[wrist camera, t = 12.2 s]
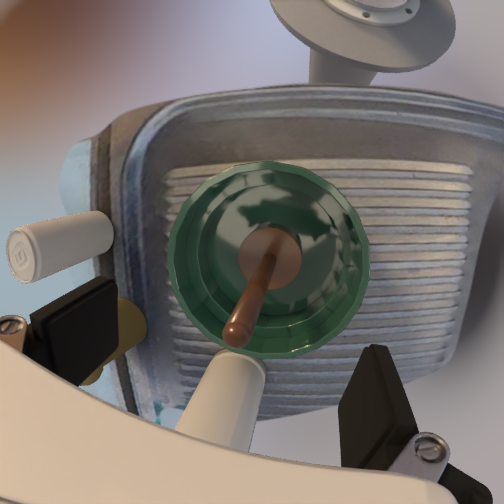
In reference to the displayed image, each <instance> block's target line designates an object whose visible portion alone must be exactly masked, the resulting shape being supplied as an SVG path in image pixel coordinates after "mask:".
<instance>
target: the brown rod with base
mask: <svg viewBox="0 0 504 504" xmlns="http://www.w3.org/2000/svg"><path fill="white" fill-rule="evenodd" d="M238 262H239V266H240V269H241V272H242V273H243V275H244V276H245V278H246V279H247V280H248V281H249V283H248V285H247V287H246V288H245V290H244V292H243V294H242V296H241V298H240V299H239V301H238V303H237V305H236V307H235V308H234V310H233V312H232V314H231V316H230V318H229V319H228V321H227V323H226V325H225V327H224V329H223V332H222V337H223V340H224V342H225V344H226V345H227V346H229V347H231V348H233V349H240V348H243V347H245V346H246V345H247V344H248V343H249V341H250V340H251V337H252V334H253V331H254V328H255V325H256V322H257V319H258V316H259V313H260V310H261V308H262V305H263V302H264V299H265V296H266V293H267V290H274V289H280V288H282V287H285V286H287V285H288V284H290V283H291V282H292V281H293V280H294V279H295V278H296V276H297V275H298V273H299V271H300V268H301V264H302V248H301V244H300V242H299V240H298V238H297V236H296V235H295V234H294V233H293V232H292V231H291V230H290V229H288V228H287V227H284V226H282V225H279V224H266V225H262V226H260V227H258V228H256V229H255V230H253V231H252V232H251V233H250V234H249V235H248V236H247V237H246V238H245V239H244V241H243V242H242V244H241V246H240V249H239V254H238Z"/></svg>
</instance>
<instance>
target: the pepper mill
mask: <svg viewBox="0 0 504 504" xmlns="http://www.w3.org/2000/svg"><path fill="white" fill-rule="evenodd" d="M118 328H119V346H118V348H117V350H116V351H115V352H114V353H113V354H112V355H111V356H109V357H108V358H107V359H106V360H105V361H104V362H103V363H102V364H101V365H100V366H99V367H98V368H97V369H96V370H95V371H94V372H93V373H92V374H91V375H90V376H89V377H88V378H87V379H86V380H85V381H84V382H83V383H82V384H81V385H80V386H83V385H90V384H92V383H94V382H95V381H97V380H98V379H99V377H100V375H101V373H102V371H103V366H105V365H106V364H108V363H109V362H111V361H112V360H114V359H115V358H117V357H118V356H120V355H121V354H123V353H124V352H126V351H127V350H129V349H130V348H132V347H133V346H135V345H136V344H138V343H139V342H141V341H142V340H144V338H145V336H146V334H147V324H146V319H145V317H144V315H143V313H142V312H141V310H140V309H139V308H138V306H136V305H135V304H134V303H133V302H132V301H130V300H127V299H125V298H119V297H118Z"/></svg>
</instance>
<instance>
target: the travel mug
mask: <svg viewBox="0 0 504 504" xmlns="http://www.w3.org/2000/svg"><path fill="white" fill-rule="evenodd" d="M265 379H266V368H265V366H264V364H263V362H262V361H261V359H258V358H254V357H249V356H245V355H241V354H237V353H234V352H231V351H229V350H228V349H223V350H221V351H219V352H218V353H216V354H215V355H214V356H213V358H212V360H211V362H210V364H209V366H208V367H207V369H206V371H205V373H204V375H203V377H202V379H201V381H200V382H199V384H198V386H197V388H196V390H195V392H194V394H193V396H192V397H191V399H190V401H189V403H188V405H187V407H186V409H185V411H184V412H183V414H182V416H181V418H180V420H179V422H178V424H177V425H176V427H175V429H174V430H175V431H178V432H181V433H184V434H187V435H190V436H193V437H196V438H199V439H202V440H206V441H209V442H212V443H216V444H219V445H223V446H227V447H230V448H234V449H238V450H242V451H246V452H249V449H250V445H251V441H252V437H253V433H254V428H255V424H256V420H257V415H258V411H259V407H260V402H261V398H262V393H263V389H264V384H265Z"/></svg>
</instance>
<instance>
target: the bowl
mask: <svg viewBox="0 0 504 504" xmlns="http://www.w3.org/2000/svg"><path fill="white" fill-rule="evenodd" d="M266 224H279V225H282V226H284V227H287V228H288V229H290V230H291V231H292V232H293V233H294V234H295V235H296V236H297V238H298V240H299V242H300V244H301V248H302V264H301V268H300V271H299V273H298V275H297V276H296V278H295V279H294V280H293V281H292V282H291V283H290V284H288V285H287V286H285V287H282V288H280V289H274V290H267V293H266V296H265V299H264V302H263V305H262V308H261V310H260V313H259V316H258V319H257V322H256V325H255V328H254V331H253V334H252V337H251V340H250V341H249V343H248V344H247V345H246V346H245V347H243V348H240V349H233V348H231V347H229V346H227V345H226V344H225V342H224V340H223V337H222V332H223V329H224V327H225V325H226V323H227V321H228V319H229V318H230V316H231V314H232V312H233V310H234V308H235V307H236V305H237V303H238V301H239V299H240V298H241V296H242V294H243V292H244V290H245V288H246V287H247V285H248V283H249V281H248V280H247V279H246V278H245V276H244V275H243V273H242V272H241V269H240V266H239V262H238V254H239V249H240V246H241V244H242V242H243V241H244V239H245V238H246V237H247V236H248V235H249V234H250V233H251V232H252V231H253V230H255V229H256V228H258V227H260V226H262V225H266ZM167 265H168V270H169V276H170V281H171V285H172V290H173V293H174V295H175V297H176V299H177V300H178V302H179V304H180V306H181V308H182V310H183V312H184V313H185V315H186V317H187V318H188V319H189V320H190V321H191V322H192V323H193V324H194V325H195V326H196V327H197V328H198V329H199V330H200V331H201V332H202V333H203V334H204V335H205V336H206V337H207V338H208V339H210V340H212V341H214V342H215V343H217V344H219V345H221V346H222V347H224V348H226V349H228V350H229V351H231V352H234V353H237V354H241V355H245V356H249V357H254V358H258V359H282V358H292V357H295V356H298V355H301V354H304V353H307V352H310V351H313V350H316V349H318V348H320V347H321V346H323V345H324V344H326V343H327V342H328V341H330V340H331V339H332V338H334V337H335V336H337V335H338V334H339V333H341V332H342V331H343V330H344V329H345V327H346V326H347V325H348V323H349V322H350V320H351V319H352V318H353V316H354V315H355V314H356V312H357V311H358V309H359V308H360V306H361V304H362V301H363V297H364V294H365V291H366V288H367V285H368V281H369V278H370V253H369V242H368V239H367V236H366V234H365V231H364V229H363V226H362V223H361V221H360V218H359V216H358V213H357V212H356V210H355V209H354V208H353V207H352V206H351V204H350V203H349V202H348V201H347V200H346V198H345V197H344V196H343V195H342V194H341V193H340V191H339V190H338V189H337V188H336V187H335V186H334V185H333V184H331V183H329V182H328V181H326V180H324V179H323V178H321V177H319V176H318V175H316V174H314V173H312V172H311V171H309V170H307V169H305V168H303V167H299V166H294V165H289V164H284V163H279V162H273V161H263V162H255V163H248V164H241V165H235V166H233V167H231V168H229V169H227V170H225V171H223V172H221V173H219V174H217V175H215V176H213V177H211V178H209V179H207V180H206V181H204V182H203V183H202V184H201V186H200V187H199V188H198V189H197V190H196V191H195V192H194V193H193V194H192V195H191V196H190V197H189V198H188V199H187V200H186V201H185V202H184V204H183V205H182V207H181V209H180V211H179V214H178V216H177V218H176V220H175V222H174V224H173V227H172V229H171V231H170V237H169V246H168V255H167Z"/></svg>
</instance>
